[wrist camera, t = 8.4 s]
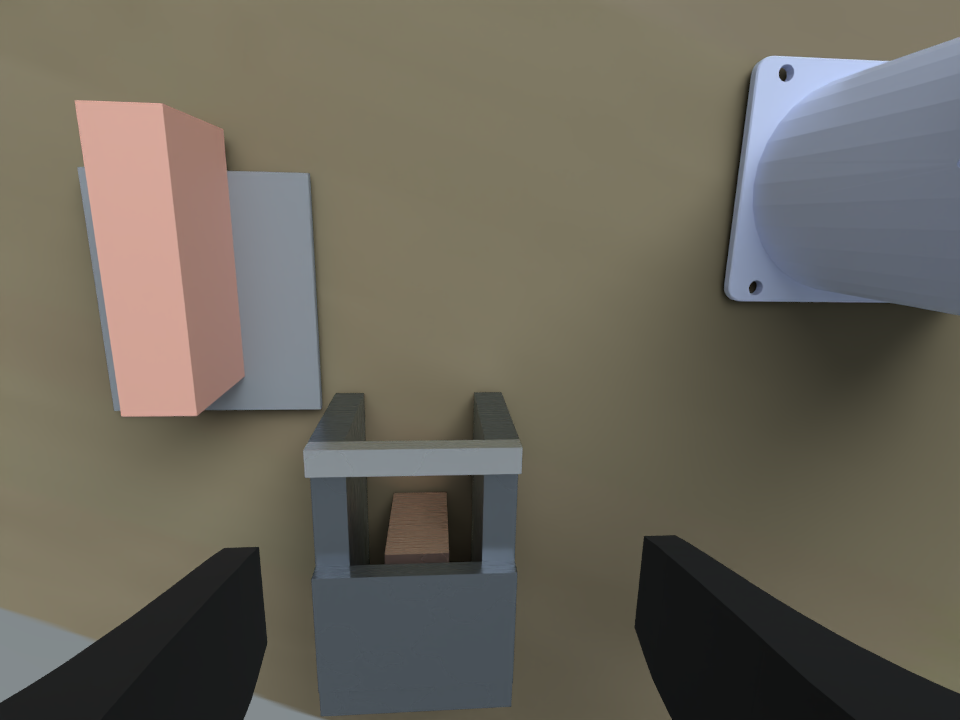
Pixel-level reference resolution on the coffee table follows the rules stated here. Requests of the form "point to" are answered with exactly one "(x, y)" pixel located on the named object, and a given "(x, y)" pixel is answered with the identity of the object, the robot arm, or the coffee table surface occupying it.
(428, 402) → the coffee table surface
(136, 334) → the salmon pink brick
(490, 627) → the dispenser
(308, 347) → the pad
